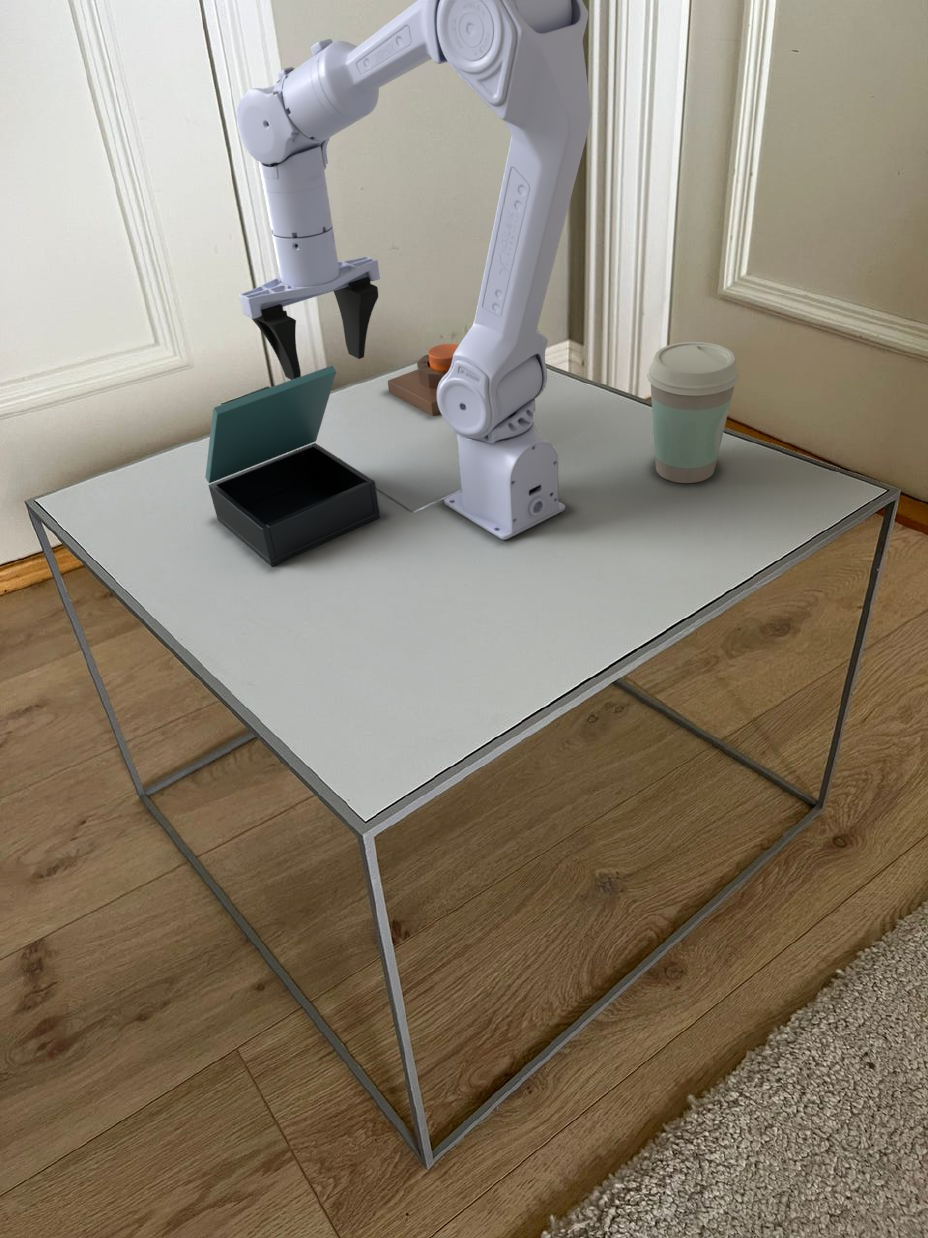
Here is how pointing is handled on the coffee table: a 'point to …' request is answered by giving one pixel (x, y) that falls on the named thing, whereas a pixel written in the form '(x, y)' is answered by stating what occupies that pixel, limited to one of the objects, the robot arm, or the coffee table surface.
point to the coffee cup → (690, 407)
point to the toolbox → (267, 423)
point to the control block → (419, 387)
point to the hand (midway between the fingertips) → (325, 366)
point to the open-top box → (294, 502)
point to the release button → (442, 356)
